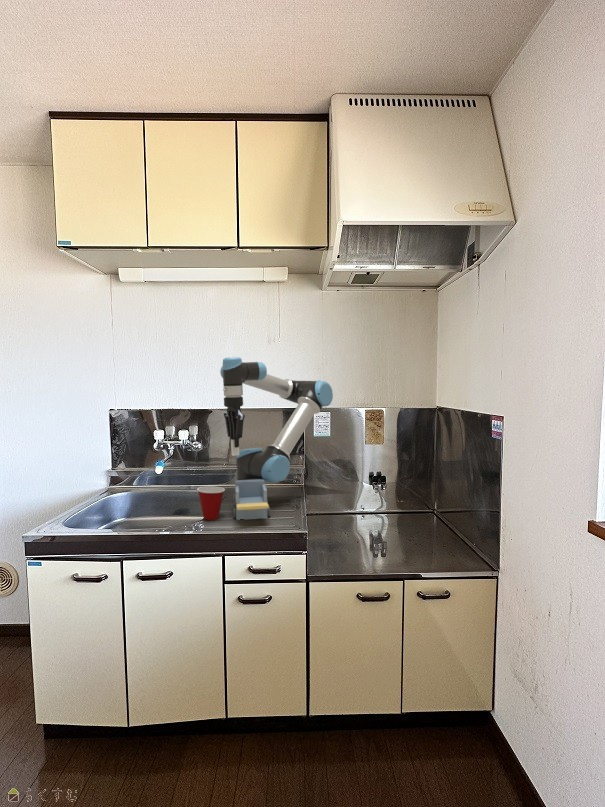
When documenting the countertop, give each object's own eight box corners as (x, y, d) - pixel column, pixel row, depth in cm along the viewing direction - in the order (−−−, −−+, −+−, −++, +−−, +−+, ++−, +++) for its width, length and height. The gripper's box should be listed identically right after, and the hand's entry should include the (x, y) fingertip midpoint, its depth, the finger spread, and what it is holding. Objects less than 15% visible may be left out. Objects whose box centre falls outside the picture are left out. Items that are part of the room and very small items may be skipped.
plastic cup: (230, 519, 183) (229, 489, 182) (203, 524, 178) (202, 493, 177) (219, 512, 192) (218, 483, 192) (193, 516, 187) (193, 487, 186)
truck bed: (232, 509, 196) (232, 480, 195) (267, 507, 198) (266, 478, 197) (233, 520, 182) (232, 488, 181) (270, 517, 184) (269, 486, 184)
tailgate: (236, 503, 181) (237, 507, 172) (266, 502, 183) (268, 505, 174) (236, 508, 181) (237, 511, 172) (266, 506, 183) (268, 509, 174)
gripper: (217, 396, 189) (219, 454, 191) (233, 397, 179) (235, 458, 181) (233, 395, 194) (235, 451, 196) (250, 396, 184) (252, 456, 186)
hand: (235, 455), depth 188 cm, fingers closed
